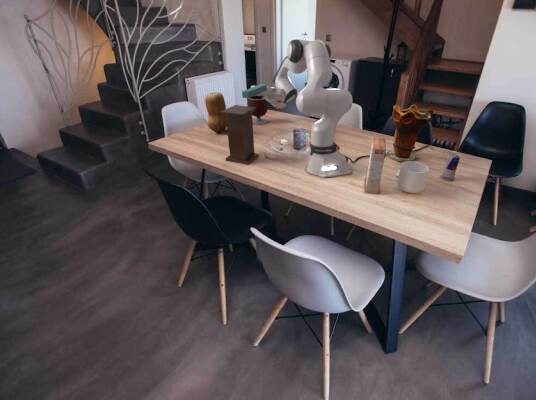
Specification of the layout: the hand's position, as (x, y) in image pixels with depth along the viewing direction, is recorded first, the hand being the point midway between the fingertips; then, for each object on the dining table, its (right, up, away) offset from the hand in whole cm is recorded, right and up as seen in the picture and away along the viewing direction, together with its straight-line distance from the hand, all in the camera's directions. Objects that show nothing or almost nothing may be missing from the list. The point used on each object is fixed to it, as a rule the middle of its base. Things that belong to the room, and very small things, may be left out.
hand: (262, 86), depth 170 cm
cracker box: (+55, -56, -28) cm, 83 cm away
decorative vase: (+78, -38, +4) cm, 87 cm away
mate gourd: (-9, -7, +51) cm, 52 cm away
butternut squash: (-32, -19, +30) cm, 47 cm away
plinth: (-10, -40, -5) cm, 42 cm away
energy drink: (+93, -52, -19) cm, 109 cm away
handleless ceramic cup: (+71, -58, -30) cm, 96 cm away
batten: (-3, -6, -6) cm, 8 cm away
